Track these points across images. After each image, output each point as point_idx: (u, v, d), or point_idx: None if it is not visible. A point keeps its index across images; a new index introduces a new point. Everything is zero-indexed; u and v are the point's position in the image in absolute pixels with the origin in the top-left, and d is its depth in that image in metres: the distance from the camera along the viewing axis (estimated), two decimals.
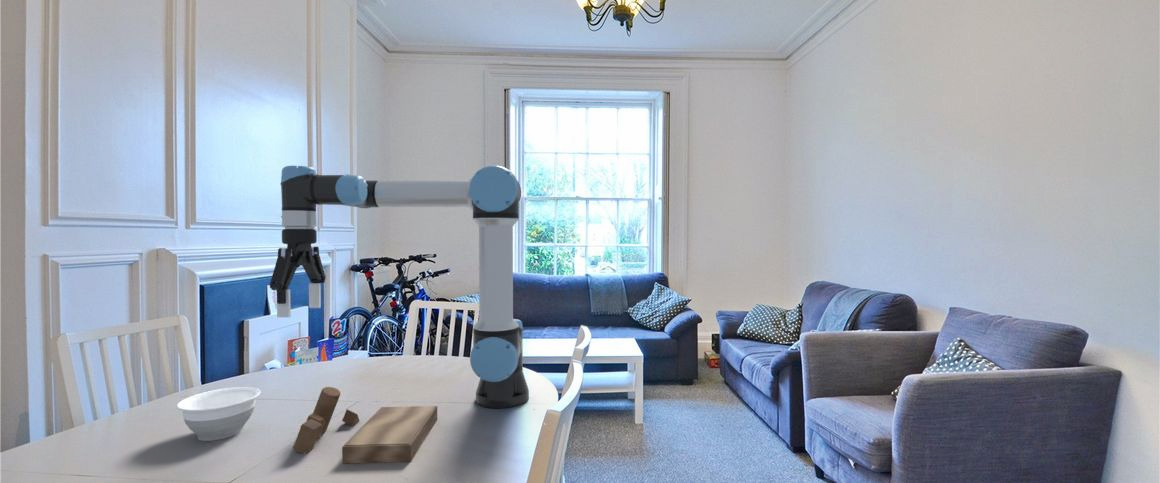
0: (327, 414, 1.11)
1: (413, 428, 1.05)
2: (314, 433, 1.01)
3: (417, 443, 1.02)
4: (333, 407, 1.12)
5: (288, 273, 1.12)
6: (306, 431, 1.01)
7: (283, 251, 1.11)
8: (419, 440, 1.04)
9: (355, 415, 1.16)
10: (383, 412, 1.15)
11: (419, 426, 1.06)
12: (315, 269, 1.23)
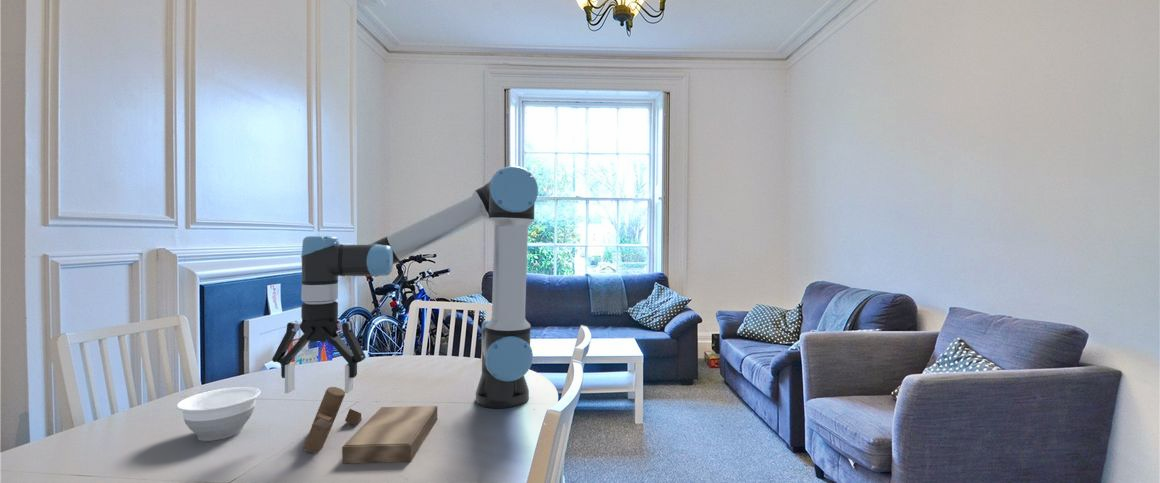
0: (332, 414, 1.11)
1: (413, 428, 1.05)
2: (325, 432, 1.02)
3: (417, 443, 1.02)
4: (338, 407, 1.12)
5: None
6: (317, 430, 1.01)
7: None
8: (419, 440, 1.04)
9: (359, 414, 1.16)
10: (383, 412, 1.15)
11: (419, 426, 1.06)
12: (339, 348, 1.09)
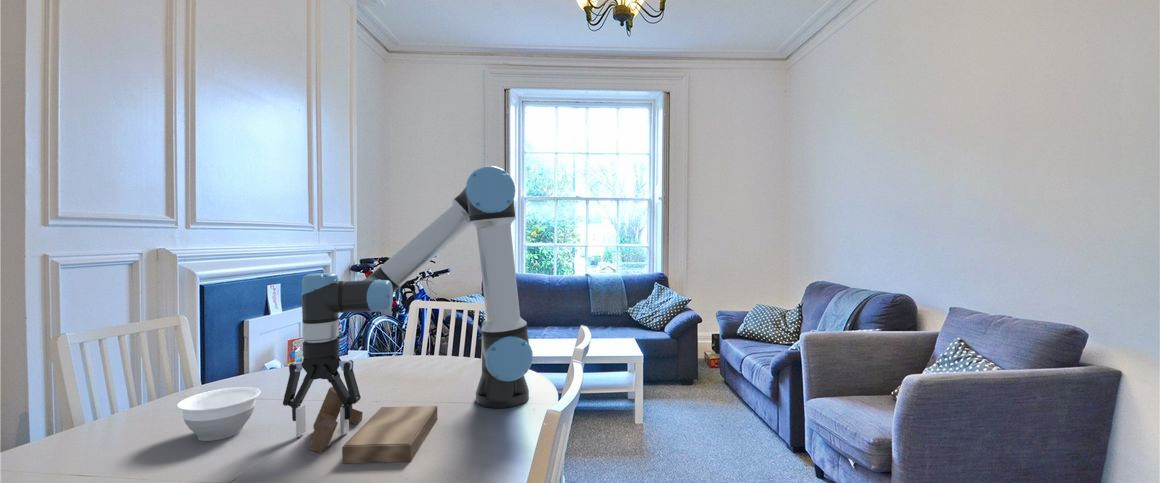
0: (335, 414, 1.11)
1: (413, 428, 1.05)
2: (332, 430, 1.02)
3: (417, 443, 1.02)
4: None
5: None
6: (324, 429, 1.01)
7: None
8: (419, 440, 1.04)
9: (360, 413, 1.17)
10: (383, 412, 1.15)
11: (419, 426, 1.06)
12: (337, 388, 1.09)
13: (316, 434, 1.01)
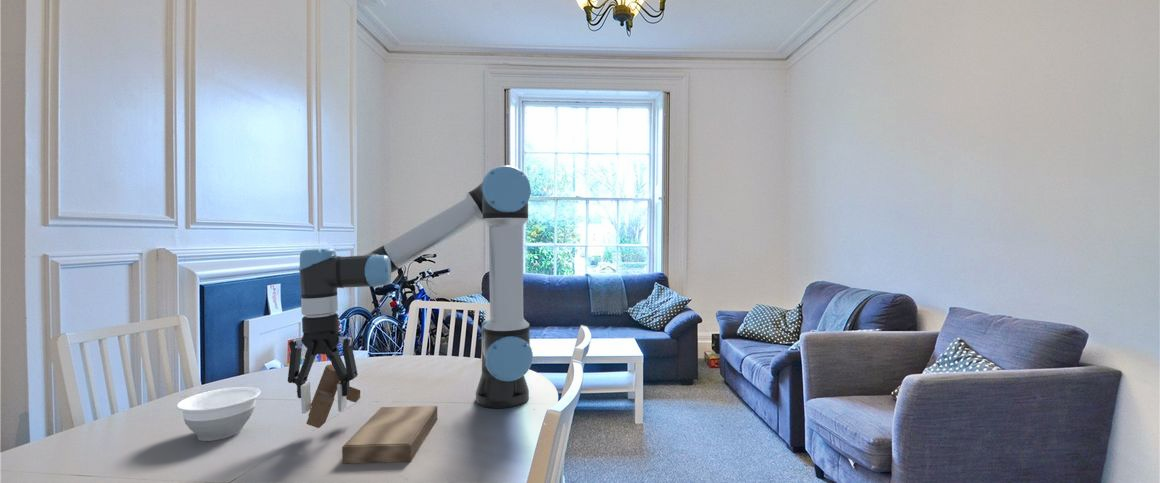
0: (332, 391, 1.11)
1: (413, 428, 1.05)
2: (328, 406, 1.02)
3: (417, 443, 1.02)
4: None
5: None
6: (320, 405, 1.01)
7: None
8: (419, 440, 1.04)
9: (358, 391, 1.17)
10: (383, 412, 1.15)
11: (419, 426, 1.06)
12: (335, 364, 1.09)
13: (313, 410, 1.01)
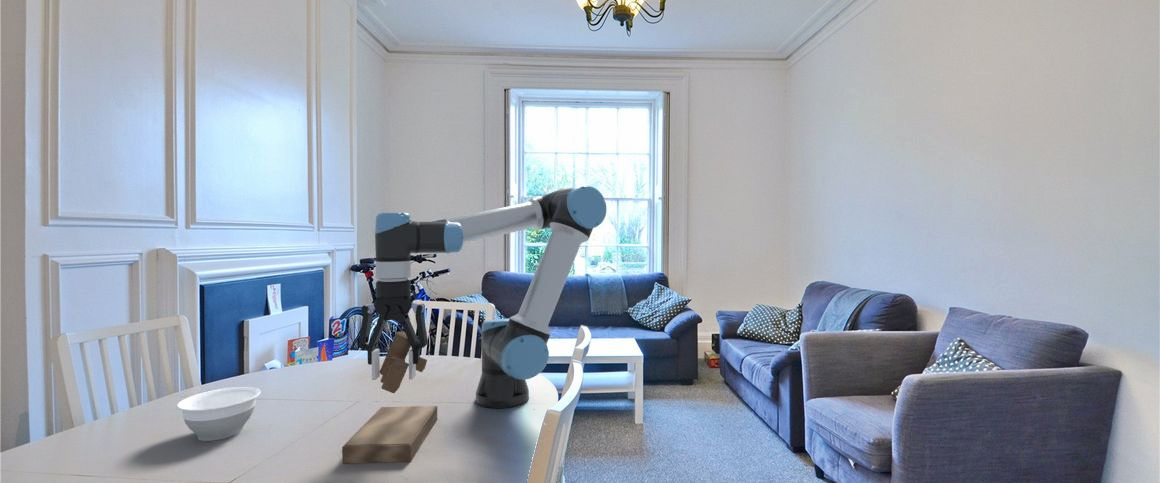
0: (402, 358, 1.09)
1: (413, 428, 1.05)
2: (404, 371, 1.00)
3: (417, 443, 1.02)
4: (407, 351, 1.10)
5: None
6: (397, 369, 0.99)
7: None
8: (419, 440, 1.04)
9: (425, 361, 1.14)
10: (383, 412, 1.15)
11: (419, 426, 1.06)
12: (407, 331, 1.07)
13: (389, 374, 0.99)
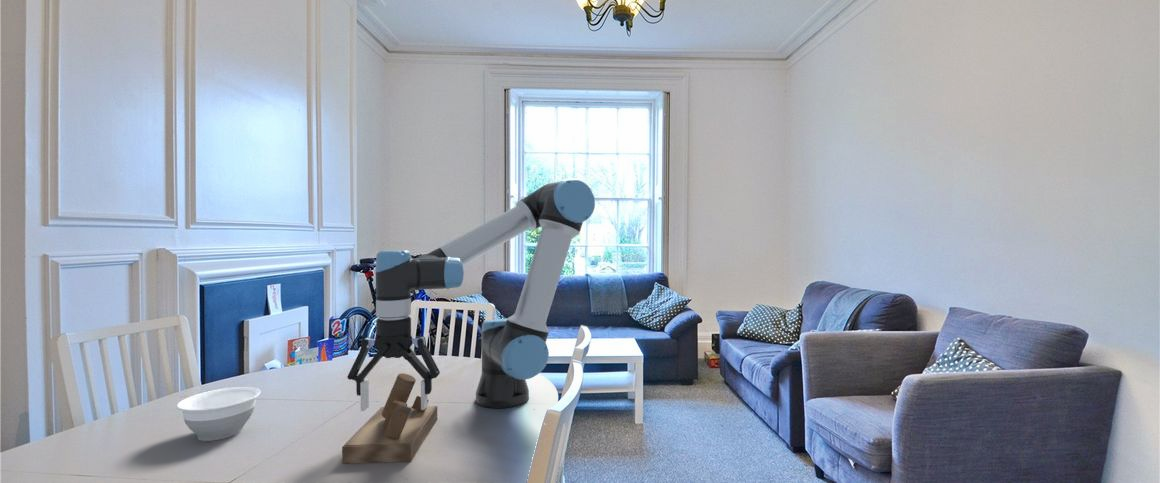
0: (404, 401, 1.09)
1: (413, 428, 1.05)
2: (407, 417, 1.00)
3: (417, 443, 1.02)
4: (409, 393, 1.10)
5: (367, 365, 1.07)
6: (399, 416, 0.99)
7: None
8: (419, 440, 1.04)
9: None
10: None
11: (419, 426, 1.06)
12: (414, 364, 1.07)
13: (391, 420, 0.99)
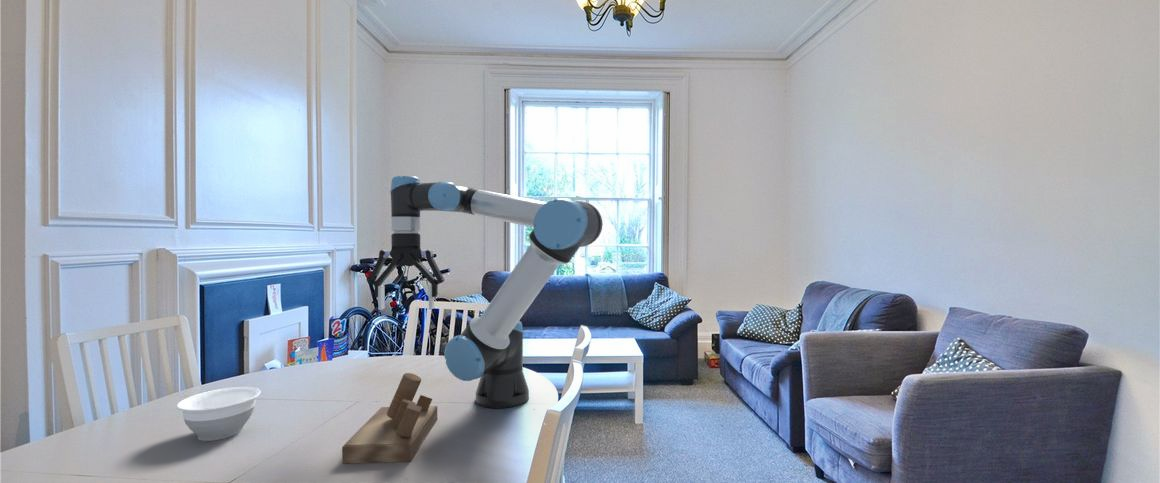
0: (410, 400, 1.10)
1: None
2: None
3: (417, 443, 1.02)
4: (415, 392, 1.10)
5: None
6: (412, 414, 1.00)
7: None
8: (419, 440, 1.04)
9: (430, 400, 1.15)
10: (383, 412, 1.15)
11: (419, 426, 1.06)
12: (423, 271, 1.28)
13: (404, 419, 1.00)
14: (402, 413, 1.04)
